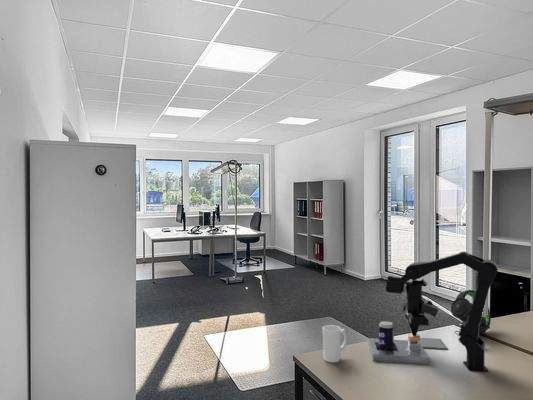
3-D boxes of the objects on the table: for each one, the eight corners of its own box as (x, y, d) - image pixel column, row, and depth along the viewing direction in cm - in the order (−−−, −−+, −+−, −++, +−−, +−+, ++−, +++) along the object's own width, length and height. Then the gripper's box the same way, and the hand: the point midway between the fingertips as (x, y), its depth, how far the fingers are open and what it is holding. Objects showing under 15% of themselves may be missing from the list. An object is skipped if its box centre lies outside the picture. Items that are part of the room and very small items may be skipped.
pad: (447, 349, 152) (447, 348, 152) (421, 348, 153) (421, 346, 153) (440, 340, 162) (440, 338, 162) (416, 338, 163) (416, 337, 163)
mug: (328, 364, 139) (327, 332, 139) (319, 356, 146) (319, 326, 146) (351, 360, 143) (351, 328, 142) (342, 353, 149) (342, 323, 149)
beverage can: (382, 348, 153) (382, 319, 153) (395, 352, 149) (395, 322, 149) (376, 353, 148) (376, 323, 148) (390, 357, 145) (390, 326, 145)
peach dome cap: (421, 344, 145) (421, 337, 144) (409, 344, 145) (409, 337, 145) (418, 340, 149) (418, 333, 149) (407, 339, 150) (407, 333, 150)
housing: (428, 364, 139) (428, 350, 139) (373, 360, 142) (373, 347, 142) (418, 347, 154) (418, 334, 154) (368, 344, 158) (368, 332, 158)
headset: (463, 358, 163) (482, 314, 180) (492, 356, 152) (509, 308, 170) (436, 326, 164) (458, 285, 181) (463, 321, 153) (483, 277, 170)
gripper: (443, 303, 136) (443, 346, 136) (429, 290, 155) (429, 328, 155) (411, 302, 138) (411, 344, 138) (401, 289, 156) (401, 327, 157)
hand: (414, 335), depth 147 cm, fingers closed, pressing on peach dome cap
